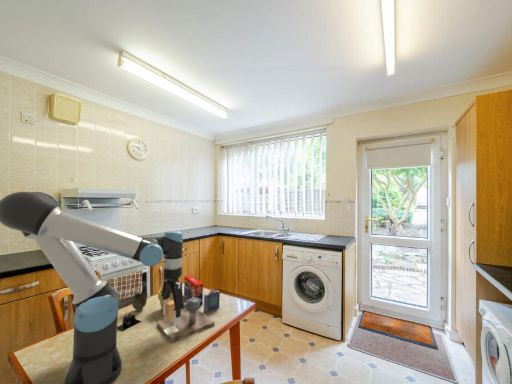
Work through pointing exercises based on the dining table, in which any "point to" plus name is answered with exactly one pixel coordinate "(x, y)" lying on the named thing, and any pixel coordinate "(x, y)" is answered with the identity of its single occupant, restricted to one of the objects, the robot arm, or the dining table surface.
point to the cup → (139, 301)
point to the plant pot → (162, 298)
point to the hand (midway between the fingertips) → (171, 319)
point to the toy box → (193, 288)
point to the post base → (185, 325)
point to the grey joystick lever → (190, 305)
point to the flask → (211, 300)
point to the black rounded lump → (128, 322)
